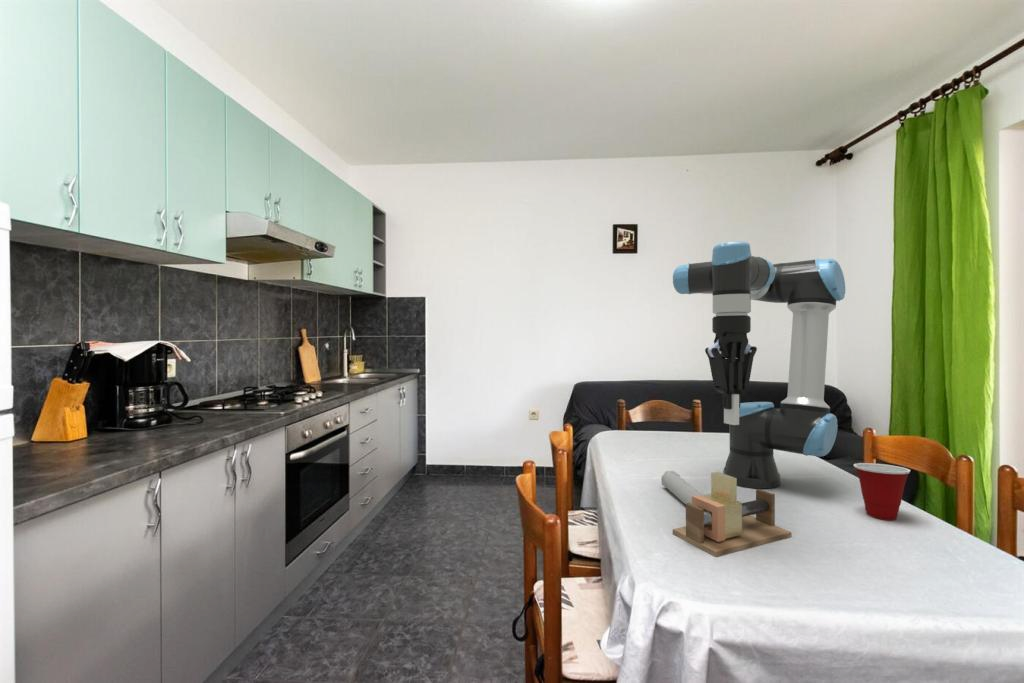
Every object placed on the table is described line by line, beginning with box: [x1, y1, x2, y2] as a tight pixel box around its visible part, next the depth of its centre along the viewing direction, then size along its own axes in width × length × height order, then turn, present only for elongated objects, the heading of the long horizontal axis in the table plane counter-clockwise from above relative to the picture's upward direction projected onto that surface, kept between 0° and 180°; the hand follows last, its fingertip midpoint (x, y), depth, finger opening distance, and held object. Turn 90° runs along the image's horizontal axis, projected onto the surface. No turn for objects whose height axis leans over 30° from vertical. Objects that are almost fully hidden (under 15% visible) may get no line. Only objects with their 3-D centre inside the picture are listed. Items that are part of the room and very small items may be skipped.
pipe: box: [704, 499, 769, 526], centre depth 105 cm, size 21×3×3 cm, turn 114°
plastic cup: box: [853, 462, 911, 521], centre depth 115 cm, size 11×11×12 cm
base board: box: [672, 488, 792, 558], centre depth 105 cm, size 22×12×8 cm, turn 114°
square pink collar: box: [692, 495, 725, 542], centre depth 102 cm, size 2×7×7 cm, turn 24°
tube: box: [661, 470, 704, 505], centre depth 124 cm, size 5×5×25 cm
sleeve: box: [702, 471, 743, 539], centre depth 103 cm, size 5×7×12 cm
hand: (731, 423), depth 104 cm, fingers closed
